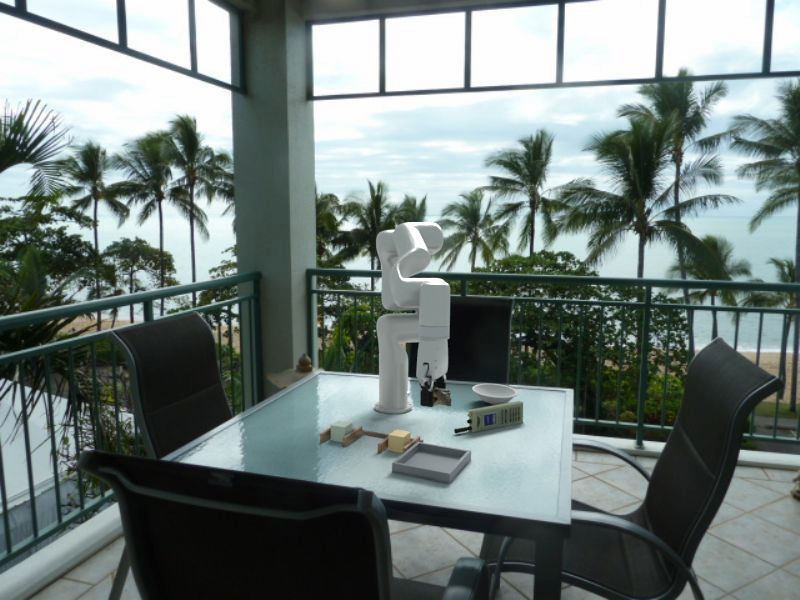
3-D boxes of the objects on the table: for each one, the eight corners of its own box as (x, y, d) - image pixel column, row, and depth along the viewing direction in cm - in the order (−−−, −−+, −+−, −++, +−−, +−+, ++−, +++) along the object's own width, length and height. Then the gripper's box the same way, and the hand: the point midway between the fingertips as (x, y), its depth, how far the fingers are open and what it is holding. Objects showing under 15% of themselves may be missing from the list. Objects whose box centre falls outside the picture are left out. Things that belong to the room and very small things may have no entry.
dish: (526, 409, 196) (527, 395, 196) (488, 414, 191) (489, 399, 190) (499, 395, 212) (499, 381, 212) (463, 399, 207) (463, 385, 207)
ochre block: (395, 445, 164) (395, 429, 163) (410, 447, 162) (410, 432, 161) (388, 450, 160) (388, 434, 159) (403, 453, 158) (403, 437, 157)
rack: (341, 429, 176) (341, 420, 176) (423, 442, 165) (423, 434, 165) (320, 442, 165) (319, 433, 165) (405, 457, 155) (405, 448, 154)
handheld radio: (524, 423, 183) (458, 437, 170) (517, 421, 186) (451, 434, 173) (524, 402, 182) (458, 414, 170) (517, 400, 185) (451, 411, 173)
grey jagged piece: (430, 415, 143) (432, 389, 141) (414, 404, 148) (415, 379, 146) (455, 406, 147) (457, 381, 145) (439, 396, 152) (441, 372, 150)
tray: (417, 450, 160) (417, 441, 159) (470, 459, 153) (471, 450, 153) (392, 472, 145) (392, 462, 145) (449, 484, 139) (449, 473, 139)
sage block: (338, 435, 171) (338, 420, 171) (352, 437, 169) (352, 422, 169) (330, 440, 167) (330, 425, 167) (344, 442, 165) (344, 427, 165)
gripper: (433, 325, 154) (432, 391, 157) (405, 336, 139) (405, 409, 141) (460, 327, 151) (459, 394, 154) (435, 339, 136) (434, 413, 138)
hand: (433, 401), depth 147 cm, fingers closed on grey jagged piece, 7 cm apart
